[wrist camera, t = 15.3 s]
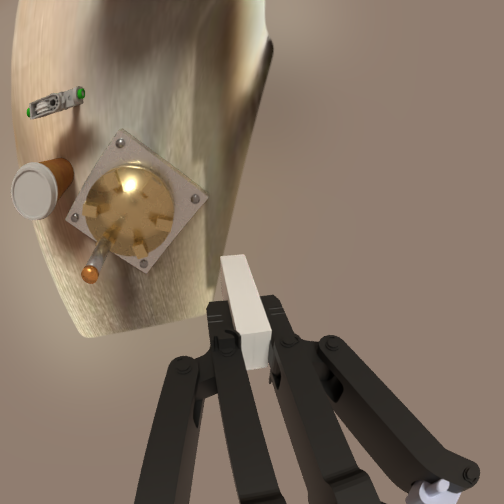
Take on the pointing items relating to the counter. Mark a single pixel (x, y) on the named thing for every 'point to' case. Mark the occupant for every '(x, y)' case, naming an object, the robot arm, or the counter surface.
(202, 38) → the counter surface
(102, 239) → the brass turntable plate
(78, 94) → the mechanical component
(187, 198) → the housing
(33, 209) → the disposable coffee cup
